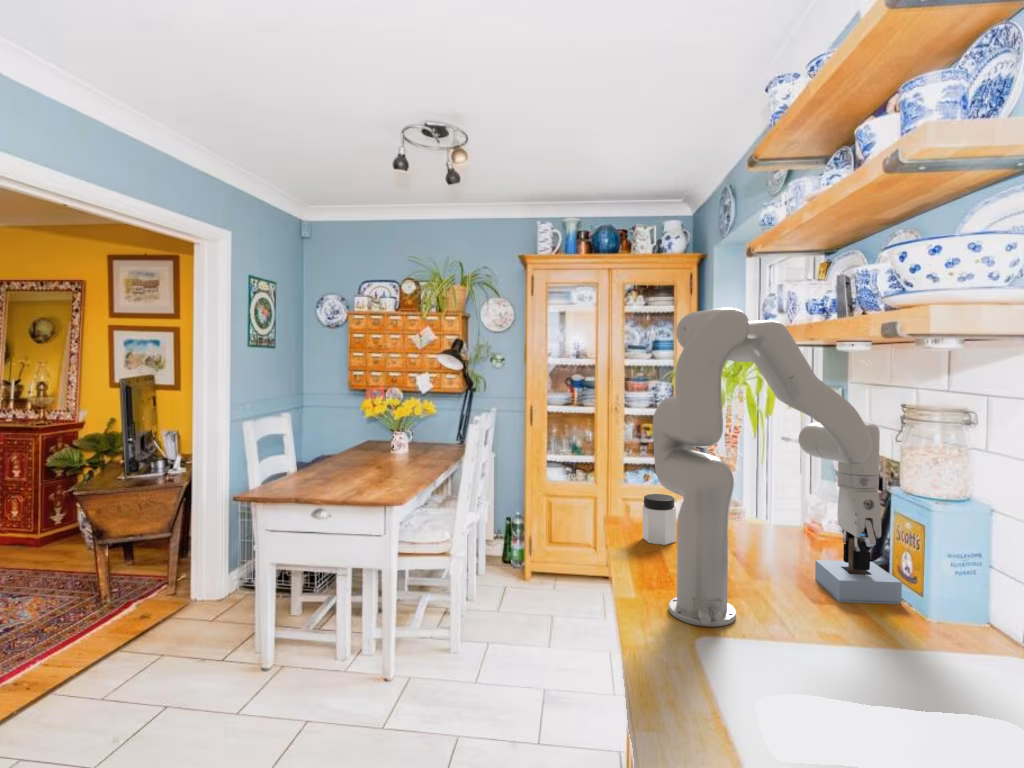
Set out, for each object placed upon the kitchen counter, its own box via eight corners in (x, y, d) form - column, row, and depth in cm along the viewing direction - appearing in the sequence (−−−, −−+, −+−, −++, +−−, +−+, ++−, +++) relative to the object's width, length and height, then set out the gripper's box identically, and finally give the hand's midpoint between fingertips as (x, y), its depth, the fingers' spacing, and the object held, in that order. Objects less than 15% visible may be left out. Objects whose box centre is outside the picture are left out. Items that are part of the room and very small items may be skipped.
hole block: (901, 604, 118) (901, 582, 118) (838, 601, 120) (839, 580, 119) (871, 581, 130) (872, 561, 130) (815, 579, 131) (815, 560, 131)
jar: (657, 533, 167) (657, 492, 166) (681, 540, 160) (681, 497, 160) (636, 539, 161) (636, 496, 161) (660, 547, 155) (660, 502, 154)
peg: (866, 588, 123) (868, 542, 123) (851, 588, 123) (852, 541, 123) (860, 583, 126) (861, 537, 126) (845, 582, 126) (846, 537, 126)
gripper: (898, 490, 115) (896, 581, 116) (857, 473, 132) (856, 553, 132) (857, 489, 116) (856, 580, 117) (822, 472, 132) (821, 552, 133)
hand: (856, 564), depth 125 cm, fingers open, 3 cm apart
